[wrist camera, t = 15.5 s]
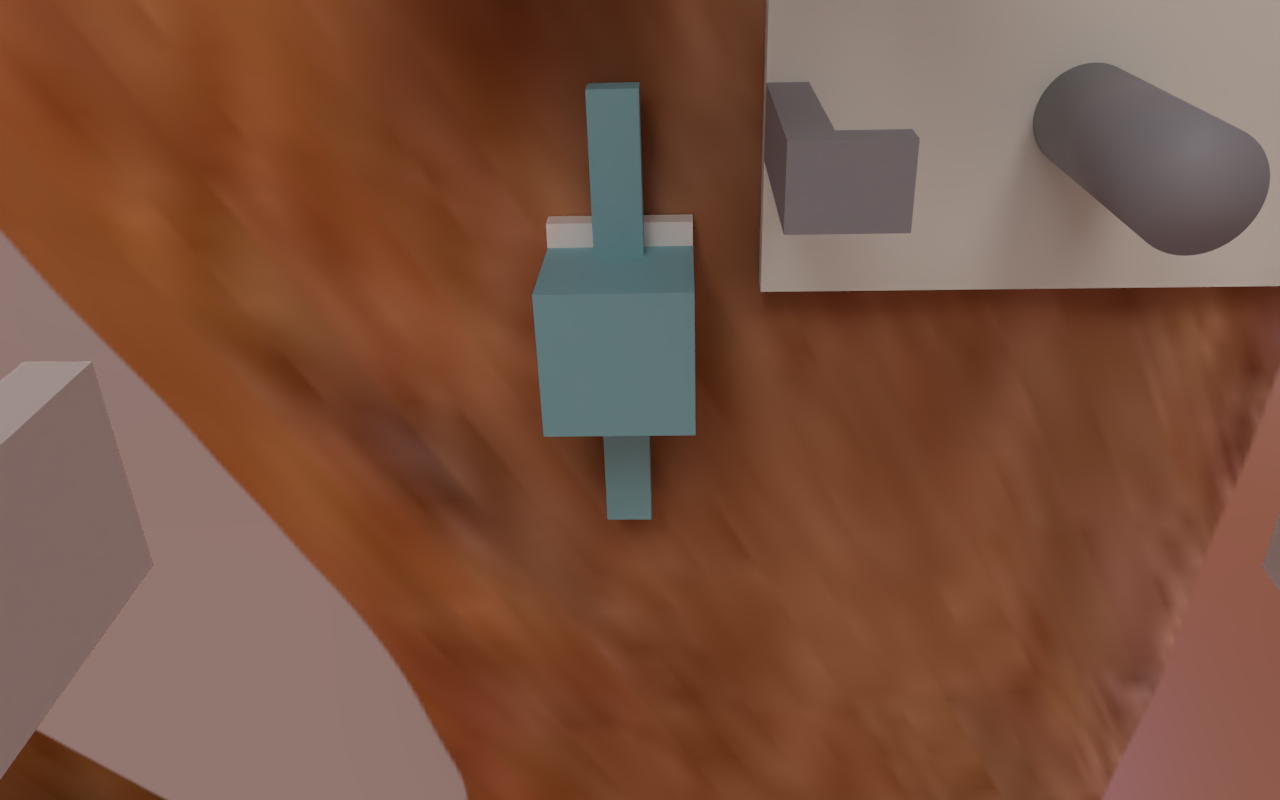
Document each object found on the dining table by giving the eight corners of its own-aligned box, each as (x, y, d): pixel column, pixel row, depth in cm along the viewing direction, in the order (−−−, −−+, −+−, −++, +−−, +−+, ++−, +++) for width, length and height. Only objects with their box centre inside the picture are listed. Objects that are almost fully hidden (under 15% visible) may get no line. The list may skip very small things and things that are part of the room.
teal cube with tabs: (566, 505, 50) (554, 572, 45) (535, 84, 41) (517, 114, 36) (695, 504, 50) (696, 572, 45) (692, 80, 41) (693, 110, 36)
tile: (548, 216, 45) (545, 223, 44) (692, 214, 44) (692, 221, 43) (559, 388, 48) (557, 398, 47) (693, 387, 48) (693, 397, 47)
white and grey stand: (768, -78, 39) (797, -52, 29) (1455, -96, 38) (1729, -75, 28) (758, 281, 46) (780, 403, 36) (1346, 274, 45) (1538, 397, 35)
